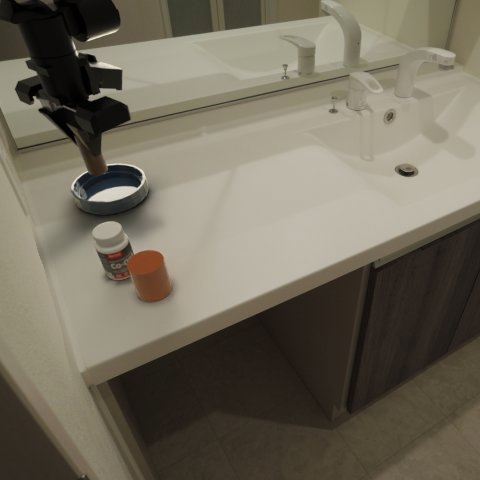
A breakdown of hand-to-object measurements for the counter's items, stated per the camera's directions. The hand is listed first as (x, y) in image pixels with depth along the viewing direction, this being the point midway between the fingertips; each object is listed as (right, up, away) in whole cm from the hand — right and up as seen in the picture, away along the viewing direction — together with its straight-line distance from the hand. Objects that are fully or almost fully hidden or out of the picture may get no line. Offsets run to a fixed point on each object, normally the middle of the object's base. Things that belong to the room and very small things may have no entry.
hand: (91, 152), depth 67 cm
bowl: (-3, -6, +13) cm, 15 cm away
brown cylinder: (0, 0, 0) cm, 0 cm away
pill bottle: (+5, -19, -1) cm, 20 cm away
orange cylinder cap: (+12, -22, -3) cm, 25 cm away
